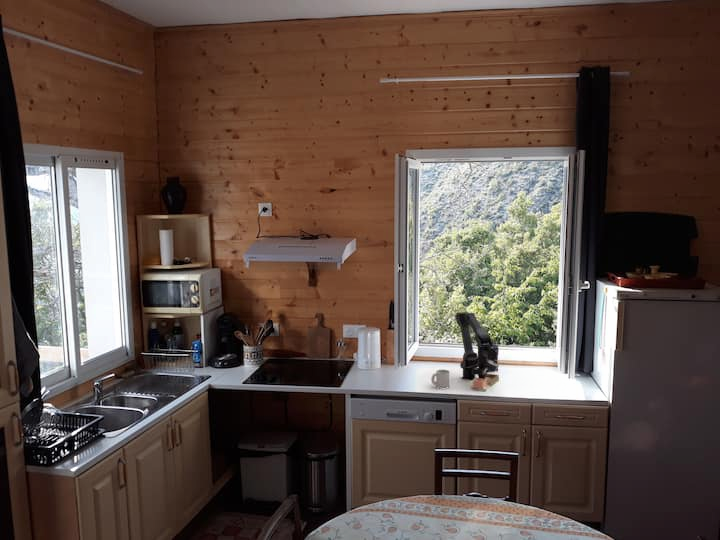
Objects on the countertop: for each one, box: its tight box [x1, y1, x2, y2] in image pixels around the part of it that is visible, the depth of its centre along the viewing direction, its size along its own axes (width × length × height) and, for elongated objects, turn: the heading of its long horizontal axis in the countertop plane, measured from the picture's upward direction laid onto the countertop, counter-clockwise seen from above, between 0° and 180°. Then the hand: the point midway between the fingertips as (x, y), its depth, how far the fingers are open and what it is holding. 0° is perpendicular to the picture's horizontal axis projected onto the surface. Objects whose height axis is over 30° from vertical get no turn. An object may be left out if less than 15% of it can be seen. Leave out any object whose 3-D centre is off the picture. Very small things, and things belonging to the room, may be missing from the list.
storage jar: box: [487, 343, 500, 373], centre depth 369 cm, size 10×10×15 cm
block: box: [472, 377, 486, 389], centre depth 333 cm, size 6×6×4 cm
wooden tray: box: [470, 372, 500, 392], centre depth 341 cm, size 9×23×3 cm, turn 149°
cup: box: [431, 369, 450, 389], centre depth 336 cm, size 7×10×9 cm
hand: (482, 383), depth 337 cm, fingers closed
